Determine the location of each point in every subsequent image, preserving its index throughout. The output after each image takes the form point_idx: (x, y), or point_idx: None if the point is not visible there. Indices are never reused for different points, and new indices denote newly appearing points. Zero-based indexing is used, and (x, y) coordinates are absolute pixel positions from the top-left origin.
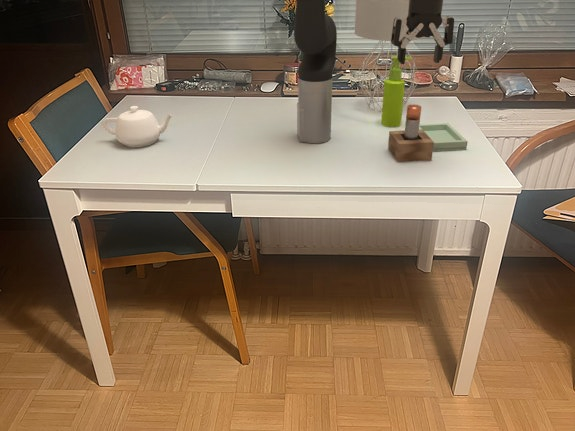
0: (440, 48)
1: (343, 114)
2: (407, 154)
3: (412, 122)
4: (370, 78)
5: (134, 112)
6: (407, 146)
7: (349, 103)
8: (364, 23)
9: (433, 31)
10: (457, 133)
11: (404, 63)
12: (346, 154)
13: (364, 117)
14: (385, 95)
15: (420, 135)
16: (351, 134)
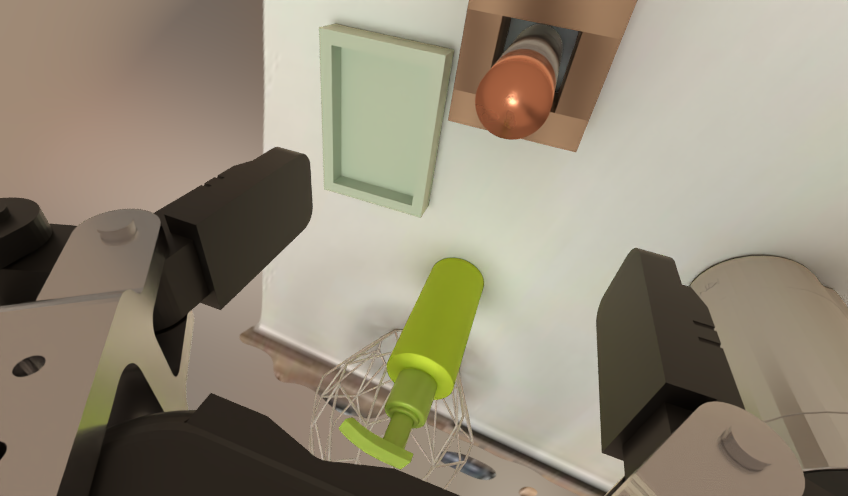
0: (179, 212)
1: (541, 372)
2: None
3: (543, 52)
4: (455, 434)
5: None
6: None
7: (487, 406)
8: None
9: (16, 480)
10: (326, 106)
11: (637, 248)
12: (763, 136)
13: (500, 337)
14: (463, 345)
15: (487, 63)
16: (611, 269)
